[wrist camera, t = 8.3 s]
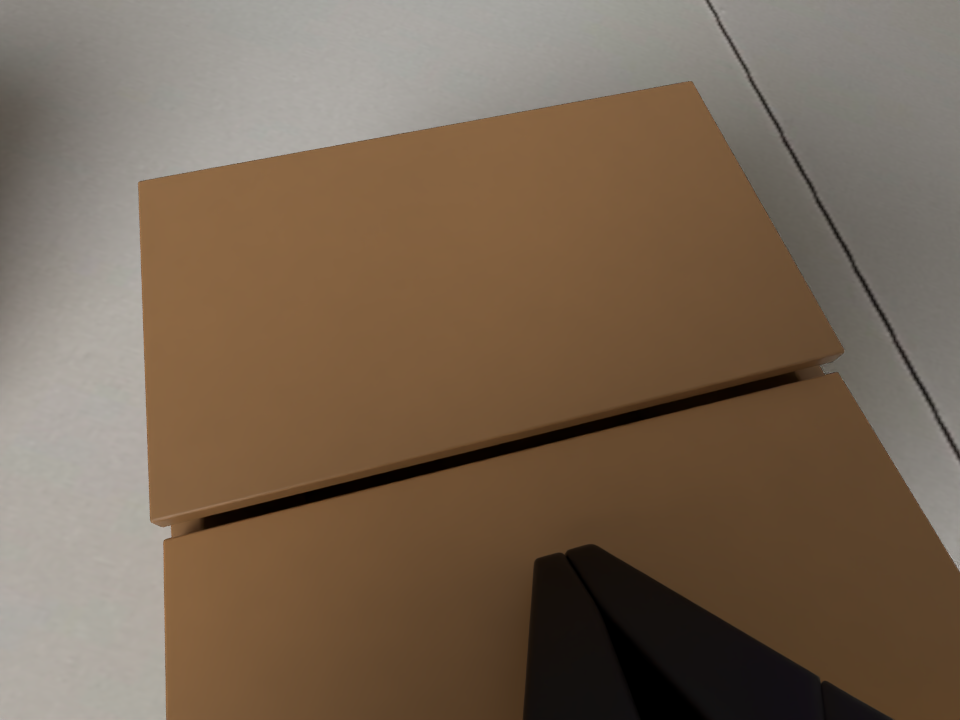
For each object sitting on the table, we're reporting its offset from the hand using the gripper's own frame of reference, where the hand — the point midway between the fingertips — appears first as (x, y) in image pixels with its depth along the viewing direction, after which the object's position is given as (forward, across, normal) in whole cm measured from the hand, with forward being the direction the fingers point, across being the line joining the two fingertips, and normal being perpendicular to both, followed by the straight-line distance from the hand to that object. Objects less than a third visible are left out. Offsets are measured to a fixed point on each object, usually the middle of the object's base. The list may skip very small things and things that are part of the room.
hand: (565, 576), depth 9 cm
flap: (0, 0, +1) cm, 1 cm away
